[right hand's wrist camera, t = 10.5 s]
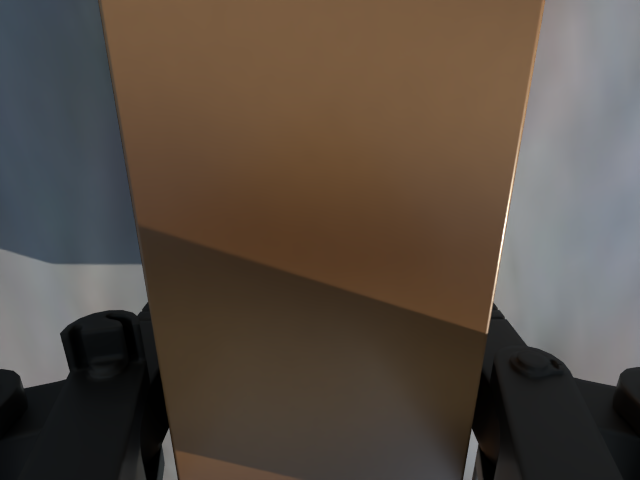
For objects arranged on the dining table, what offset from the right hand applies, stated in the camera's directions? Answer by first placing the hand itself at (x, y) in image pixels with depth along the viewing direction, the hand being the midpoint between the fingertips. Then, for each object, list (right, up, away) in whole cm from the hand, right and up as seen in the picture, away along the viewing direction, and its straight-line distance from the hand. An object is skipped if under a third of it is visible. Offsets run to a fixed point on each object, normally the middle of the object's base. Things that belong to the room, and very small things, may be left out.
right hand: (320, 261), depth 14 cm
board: (0, +19, -7) cm, 21 cm away
